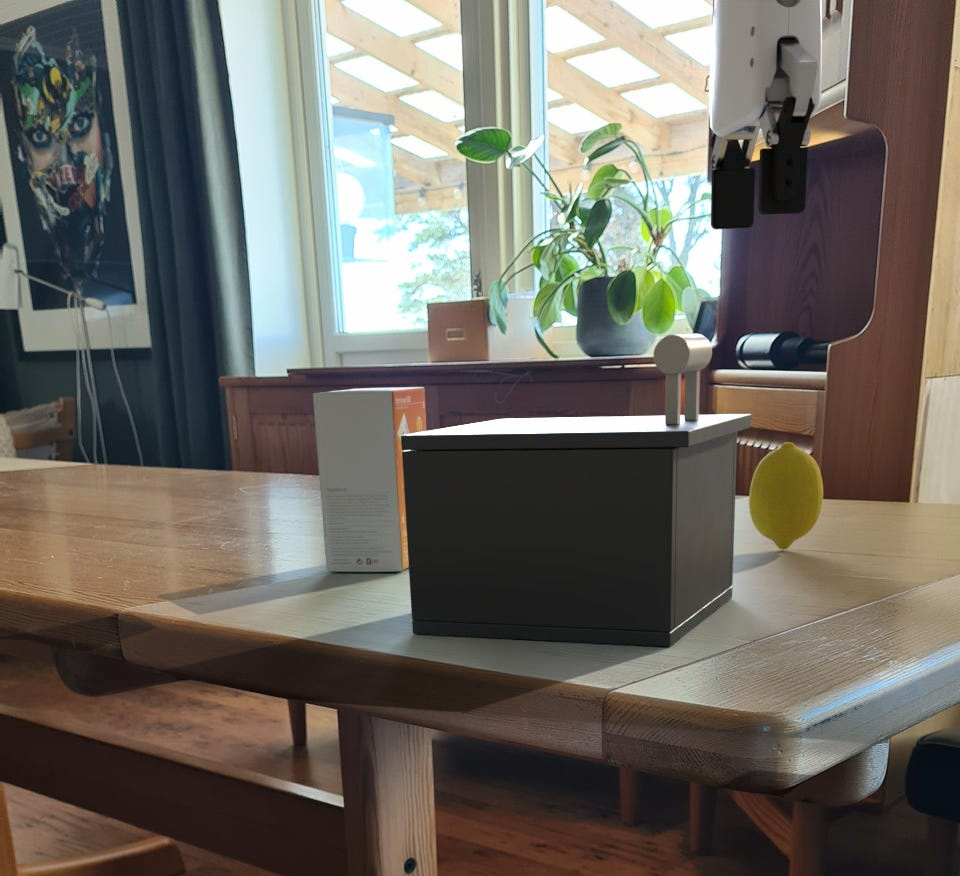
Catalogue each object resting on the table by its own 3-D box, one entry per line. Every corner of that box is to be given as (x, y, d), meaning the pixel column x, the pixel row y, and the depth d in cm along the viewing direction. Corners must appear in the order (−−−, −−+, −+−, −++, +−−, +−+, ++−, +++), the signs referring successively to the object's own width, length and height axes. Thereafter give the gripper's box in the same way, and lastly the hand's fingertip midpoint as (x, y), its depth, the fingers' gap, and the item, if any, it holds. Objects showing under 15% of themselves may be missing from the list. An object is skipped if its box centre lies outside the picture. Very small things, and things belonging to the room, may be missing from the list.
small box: (403, 573, 96) (392, 389, 91) (324, 573, 98) (309, 392, 93) (435, 556, 103) (426, 385, 99) (361, 556, 105) (348, 387, 100)
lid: (750, 427, 78) (754, 331, 76) (688, 447, 65) (690, 333, 63) (501, 431, 84) (498, 343, 82) (401, 450, 72) (395, 346, 70)
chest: (732, 598, 82) (737, 428, 78) (670, 647, 69) (673, 448, 66) (506, 590, 88) (501, 432, 84) (412, 634, 75) (401, 451, 72)
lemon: (745, 555, 98) (749, 445, 95) (749, 544, 103) (752, 440, 100) (820, 554, 96) (826, 443, 94) (820, 544, 101) (826, 438, 99)
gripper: (873, -103, 79) (856, 205, 85) (768, -24, 95) (761, 231, 101) (757, -103, 78) (749, 209, 84) (671, -23, 94) (669, 235, 100)
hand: (755, 221), depth 93 cm, fingers open, 9 cm apart
